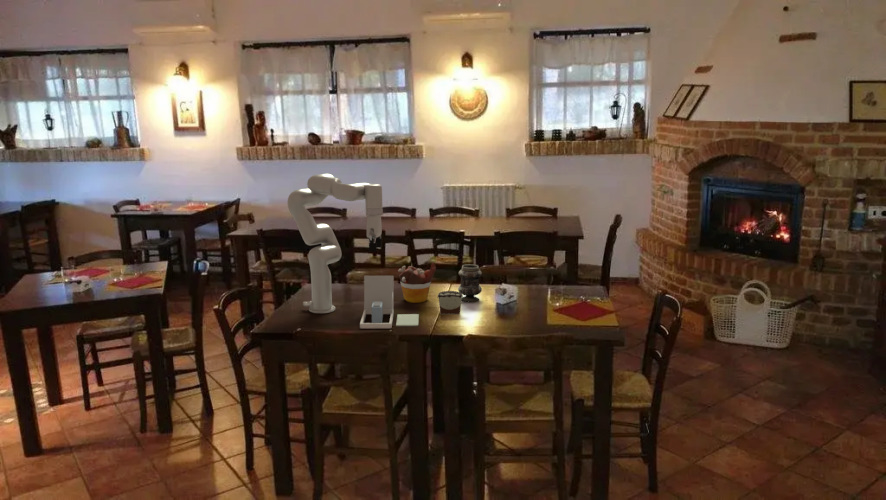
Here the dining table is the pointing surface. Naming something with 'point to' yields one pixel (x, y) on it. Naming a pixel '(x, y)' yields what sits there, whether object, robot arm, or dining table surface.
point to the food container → (450, 302)
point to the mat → (407, 320)
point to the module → (377, 312)
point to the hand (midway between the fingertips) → (375, 249)
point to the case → (378, 298)
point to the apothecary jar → (470, 283)
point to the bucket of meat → (416, 283)
